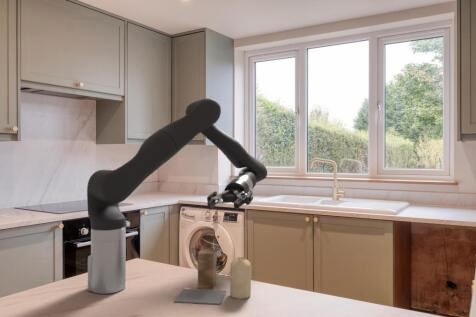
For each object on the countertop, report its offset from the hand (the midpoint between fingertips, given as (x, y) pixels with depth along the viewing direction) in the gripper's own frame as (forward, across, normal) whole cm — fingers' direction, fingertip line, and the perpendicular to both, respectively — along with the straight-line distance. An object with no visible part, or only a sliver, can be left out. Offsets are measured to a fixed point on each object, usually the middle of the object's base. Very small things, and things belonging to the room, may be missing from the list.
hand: (222, 206), depth 117 cm
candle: (+17, +9, +19) cm, 27 cm away
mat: (+21, 0, +17) cm, 27 cm away
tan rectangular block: (+13, -2, +19) cm, 23 cm away
